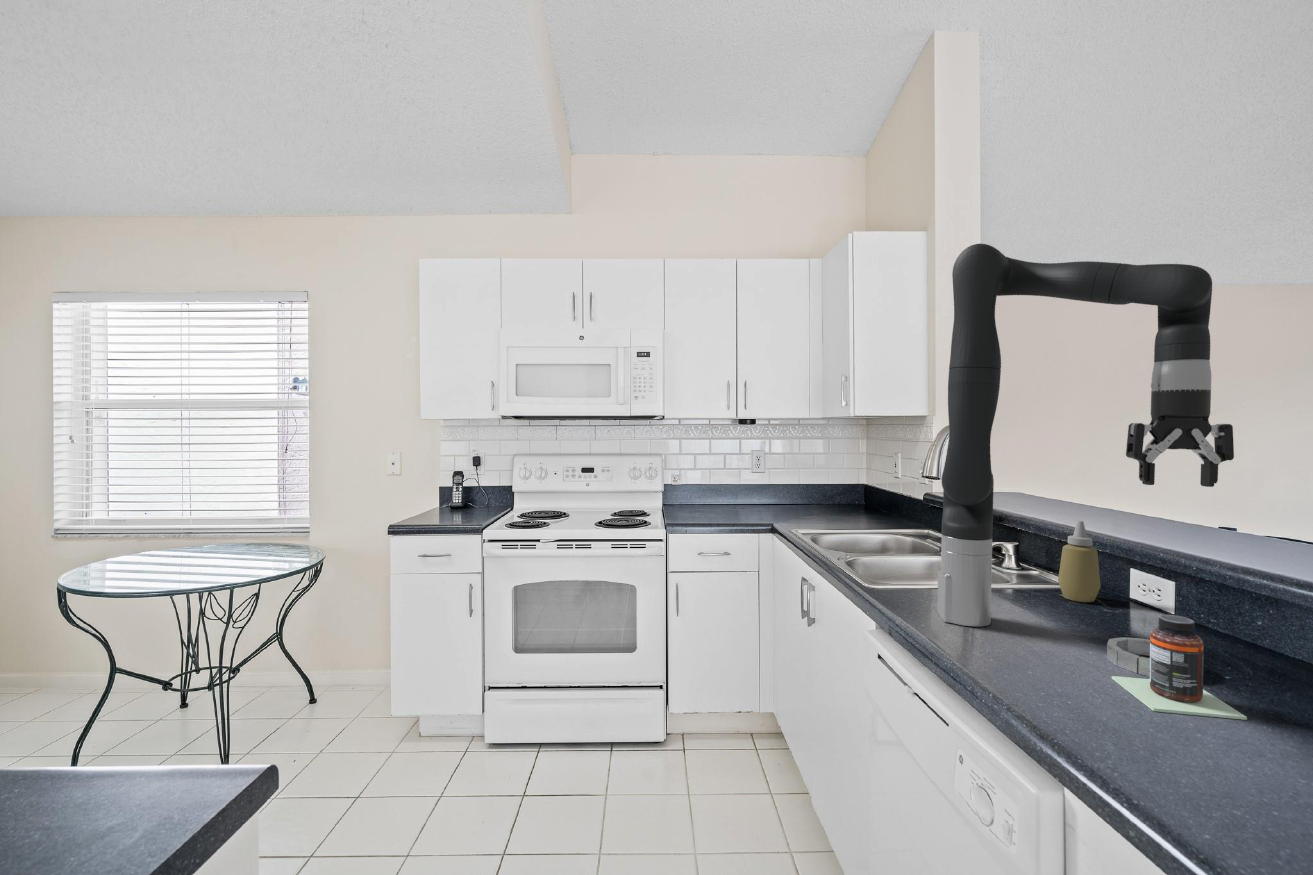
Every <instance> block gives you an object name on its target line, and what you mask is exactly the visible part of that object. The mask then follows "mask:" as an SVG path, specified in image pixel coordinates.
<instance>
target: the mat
mask: <svg viewBox="0 0 1313 875" xmlns="http://www.w3.org/2000/svg"><path fill="white" fill-rule="evenodd" d="M1111 679H1112V680H1113V681H1114V682H1116V684H1118V685H1119V686H1121V687H1122V688H1123V689H1125V691H1127V692H1129V693H1130V694H1131V695H1132V696H1133V697H1135V698H1136V699H1137V700H1138V701H1140V702H1141V703H1142V704H1144V705H1145V706H1146V707H1148V708H1149V709H1150V710H1152V711H1153V712H1160V713H1167V714H1168V713H1169V714H1178V715H1179V714H1181V715H1188V716H1189V715H1190V716H1201V717H1212V718H1221V719H1231V720H1232V719H1233V720H1243V721H1247V720H1248V717H1247V716H1246V715H1245V714H1243V713H1241V712H1239V711H1238V710H1236V709H1235V708H1233V707H1232V706H1231V705H1229V704H1227V703H1225V702H1224V701H1222V700H1220V699H1219V698H1217V697H1216V696H1215V695H1213V694H1212V693H1209V692H1208V691H1206V690H1205V689H1203V697H1202V700H1200V701H1197V702H1182V701H1177V700H1173V699H1169V698H1166V697H1163V696H1161V695H1159V694H1157V693H1155V692H1154V691H1153V690H1152V689H1151V687H1150V678H1141V677H1140V678H1138V677H1129V676H1118V675H1112V676H1111Z"/></svg>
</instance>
